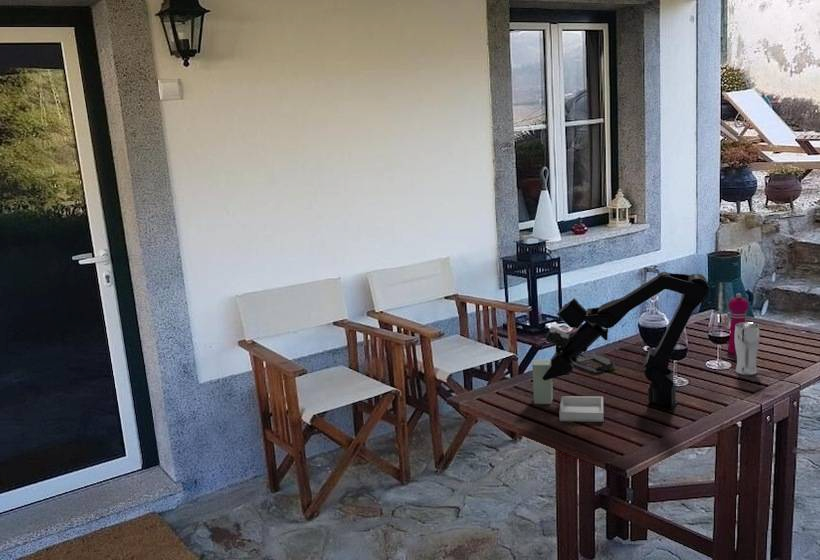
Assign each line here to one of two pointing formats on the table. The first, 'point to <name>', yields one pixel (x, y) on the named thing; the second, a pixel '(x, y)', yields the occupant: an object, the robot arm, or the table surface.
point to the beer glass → (746, 347)
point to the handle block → (542, 382)
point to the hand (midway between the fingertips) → (545, 373)
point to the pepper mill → (736, 317)
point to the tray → (581, 408)
